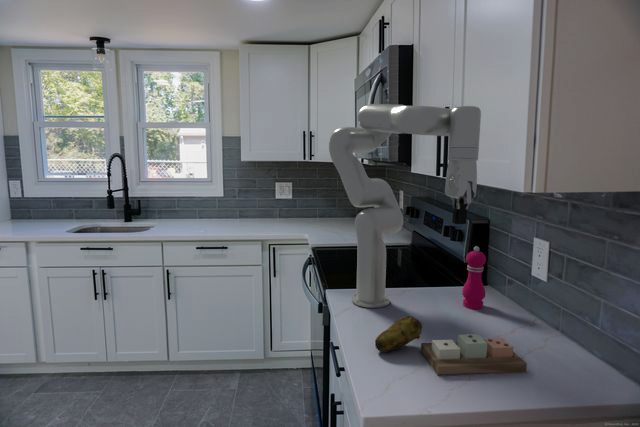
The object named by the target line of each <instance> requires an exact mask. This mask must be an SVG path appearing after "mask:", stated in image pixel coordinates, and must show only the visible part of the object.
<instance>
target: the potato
mask: <svg viewBox="0 0 640 427" xmlns="http://www.w3.org/2000/svg"><path fill="white" fill-rule="evenodd" d="M422 329H423V325H422V323H421V322H420V320H419V319H417V318H416V317H414V316H410V315H405V316H402V317H401V318H399V319H398V320H396V321H395V322H394V323H392V324H391V325H390V326H389V327H388V328H386V330H384V331H382V332H381V333H380V334H378V336H377V337H376V338H375V342H374V343H375V348H376V350H378V351H379V352H381V353H388V352H390V351H394V350H397V349H400V348H403V347H405V346H406V345H407V344H409V343H411V342H412V341H414V340H415V341H416V339H417V340H419V339H420V338H421V334H422V331H423V330H422Z"/></svg>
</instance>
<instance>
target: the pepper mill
mask: <svg viewBox="0 0 640 427" xmlns="http://www.w3.org/2000/svg"><path fill="white" fill-rule="evenodd" d="M465 258H466V259H465V260H466V262H467V268H466V270H467V272H468V275H467V279H466V282H465V283H464V285H463V288H462V291H461V294H462V296H463V297H464V298H463V299H462V305H463V307H465V308H468V309H470V310H481V309H483V308H484V301H483V300H484V299H485V298H486V288H485V286H484V283H483V281H482V275H483V271H484V265H485V264H486V262H487V261H486V260H487V258H486V255H485V254H484V253H483V252H482V251H480V247H479V246H474V247H473V251H470V252H468V253H467V254H466V256H465Z"/></svg>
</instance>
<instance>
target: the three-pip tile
mask: <svg viewBox="0 0 640 427" xmlns="http://www.w3.org/2000/svg"><path fill="white" fill-rule="evenodd" d="M482 339H483V340H484V341H485V342H487V354H488V355H489V356H490V357H491V358H502V357H513V352H514V347H513V345H512V344H510V343H509V342H508V341H507V340H505V339H504V338H503V337H494V338H493V337H492V338H489V337H488V338H482Z"/></svg>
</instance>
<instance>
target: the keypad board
mask: <svg viewBox="0 0 640 427" xmlns="http://www.w3.org/2000/svg"><path fill="white" fill-rule="evenodd" d="M454 343H455V344H456V345H458V341H454ZM420 352H421V354H422V355H423V356H424V358H425V359H426V360H427V362H428V364H429V365H430V367H431V368H432V369H433V371H434V372H435V374H436V375H437V376H439V377H440V376H441V377H442V376H462V375H463V376H464V375H466V376H467V375H487V374H488V375H489V374H513V373H517V374H519V373H527V368H528V366H527V365H528V363H527V362H526V361H525V360H524V359H523V358H522V357H520V356H519V355H518V354H517V353H516V352H514V351H513V357H502V358H491V357H490V356H489V355H488V354H487V355H486V358H473V359H465V358H464V357H463V356H462V355H461V354H460V359H444V360H438V359H437V358H436V356H435V355H434V354H433V352H432V341H431V342H421V343H420Z"/></svg>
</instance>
